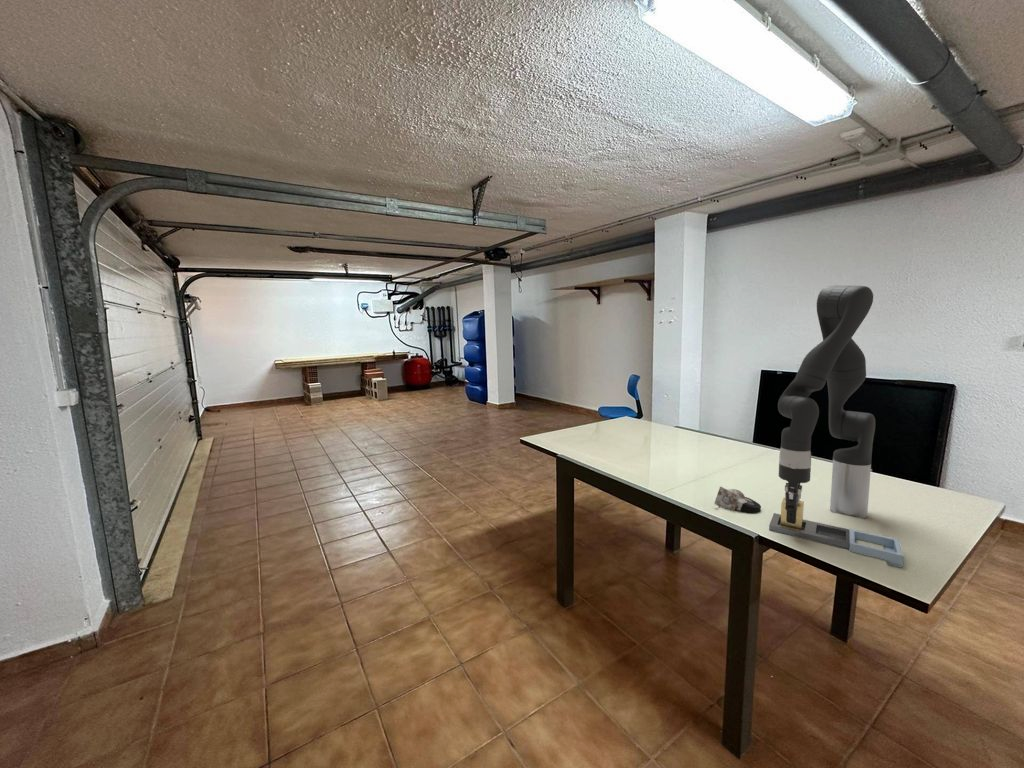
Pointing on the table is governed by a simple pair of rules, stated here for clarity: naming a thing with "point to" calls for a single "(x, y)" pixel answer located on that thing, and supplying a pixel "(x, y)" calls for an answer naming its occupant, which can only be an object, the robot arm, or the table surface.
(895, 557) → the parts tray
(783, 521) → the tan wooden block
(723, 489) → the camo sneaker
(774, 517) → the grey slotted tray
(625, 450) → the table surface
